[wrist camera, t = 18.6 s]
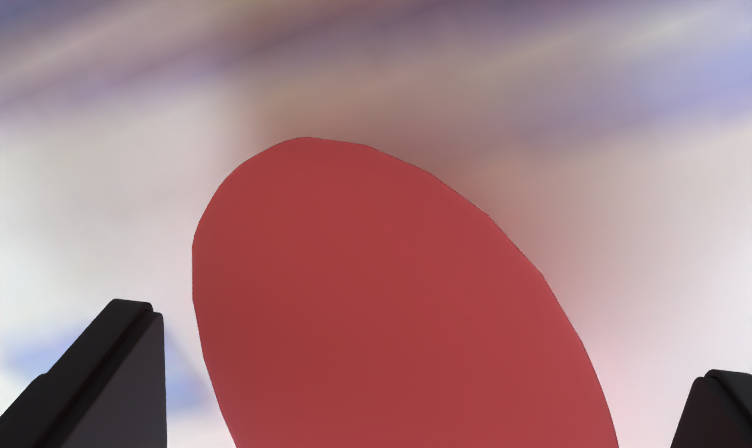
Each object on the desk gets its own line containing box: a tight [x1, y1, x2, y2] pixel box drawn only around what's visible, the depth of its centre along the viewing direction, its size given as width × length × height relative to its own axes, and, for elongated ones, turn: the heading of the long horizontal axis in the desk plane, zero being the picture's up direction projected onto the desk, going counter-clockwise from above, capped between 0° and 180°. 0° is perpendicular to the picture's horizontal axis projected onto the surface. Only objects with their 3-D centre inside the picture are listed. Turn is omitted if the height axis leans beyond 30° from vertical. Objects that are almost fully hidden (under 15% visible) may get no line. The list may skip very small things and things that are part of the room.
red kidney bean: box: [192, 137, 619, 448], centre depth 10 cm, size 5×9×6 cm, turn 10°
